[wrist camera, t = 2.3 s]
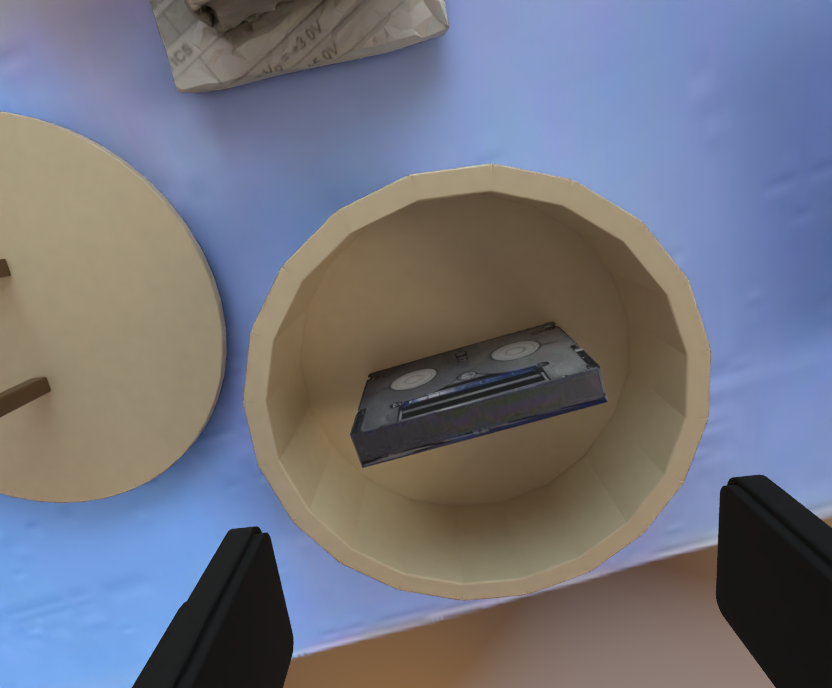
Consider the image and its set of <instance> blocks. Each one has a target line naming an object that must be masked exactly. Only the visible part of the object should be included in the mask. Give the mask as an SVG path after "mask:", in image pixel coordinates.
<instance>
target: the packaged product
mask: <svg viewBox="0 0 832 688" xmlns="http://www.w3.org/2000/svg"><path fill="white" fill-rule="evenodd" d="M149 1H150V4H151V7H152V10H153V13H154V16H155V19H156V23H157V26H158V30H159V34H160V36H161V39H162V41H163V43H164V46H165V50H166V53H167V57H168V60H169V62H170V66H171V70H172V75H173V78H174V82H175V85H176V88H177V90H178V91H179V92H182V93H203V92H210V91H216V90H223V89H228V88H232V87H236V86H240V85H244V84H248V83H252V82H256V81H259V80H263V79H267V78H271V77H275V76H279V75H283V74H287V73H292V72H297V71H302V70H307V69H311V68H316V67H321V66H326V65H331V64H336V63H340V62H345V61H350V60H355V59H360V58H365V57H369V56H374V55H379V54H384V53H389V52H392V51H395V50H398V49H401V48H404V47H407V46H411V45H414V44H417V43H420V42H423V41H426V40H429V39H432V38H435V37H439V36H442V35H444V34H445V33H446V31H447V30H448V28H449V23H448V18H447V12H446V6H445V0H149Z"/></svg>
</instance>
